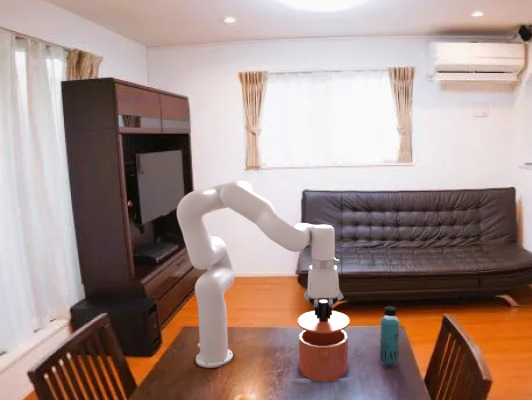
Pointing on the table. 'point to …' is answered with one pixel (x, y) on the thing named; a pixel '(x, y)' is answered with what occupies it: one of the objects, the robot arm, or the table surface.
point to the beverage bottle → (389, 336)
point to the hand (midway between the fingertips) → (323, 316)
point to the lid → (323, 320)
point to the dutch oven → (323, 355)
